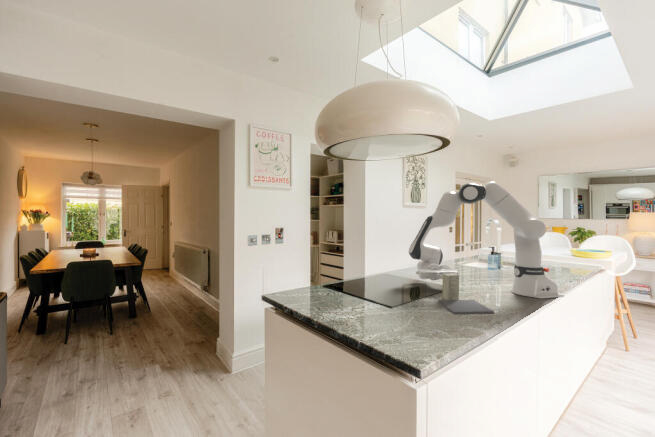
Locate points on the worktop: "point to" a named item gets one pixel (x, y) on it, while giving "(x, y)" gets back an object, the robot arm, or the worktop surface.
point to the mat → (464, 307)
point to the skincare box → (451, 286)
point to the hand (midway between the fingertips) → (444, 277)
